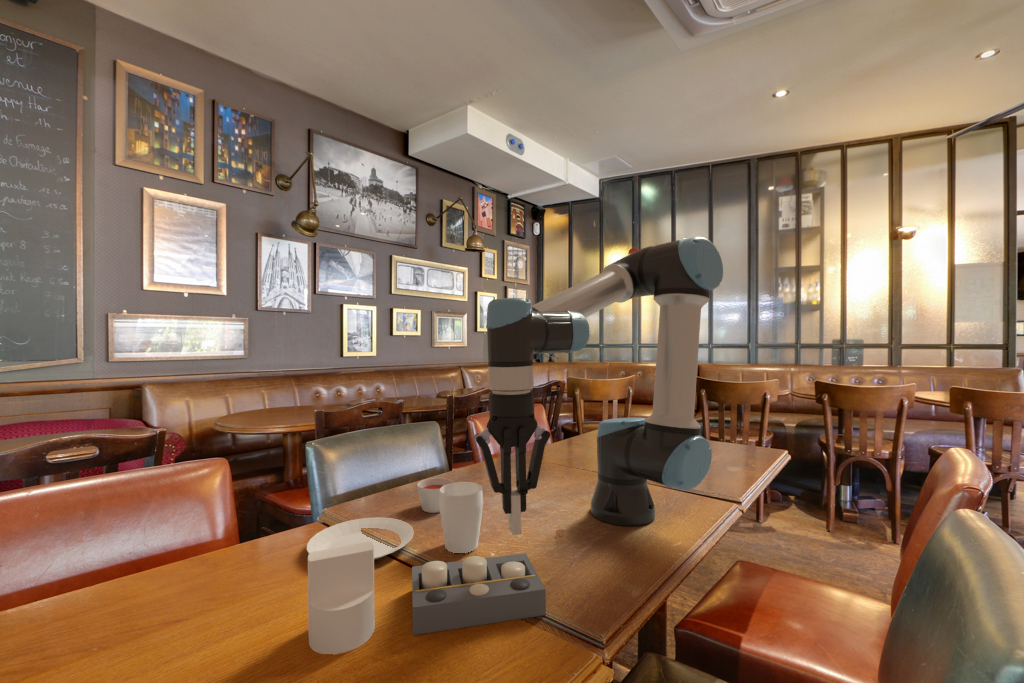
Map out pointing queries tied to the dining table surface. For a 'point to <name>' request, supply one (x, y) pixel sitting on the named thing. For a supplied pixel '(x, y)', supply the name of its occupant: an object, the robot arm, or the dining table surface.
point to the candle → (431, 493)
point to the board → (477, 597)
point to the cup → (461, 515)
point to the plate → (360, 535)
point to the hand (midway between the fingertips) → (515, 530)
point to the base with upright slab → (341, 598)
